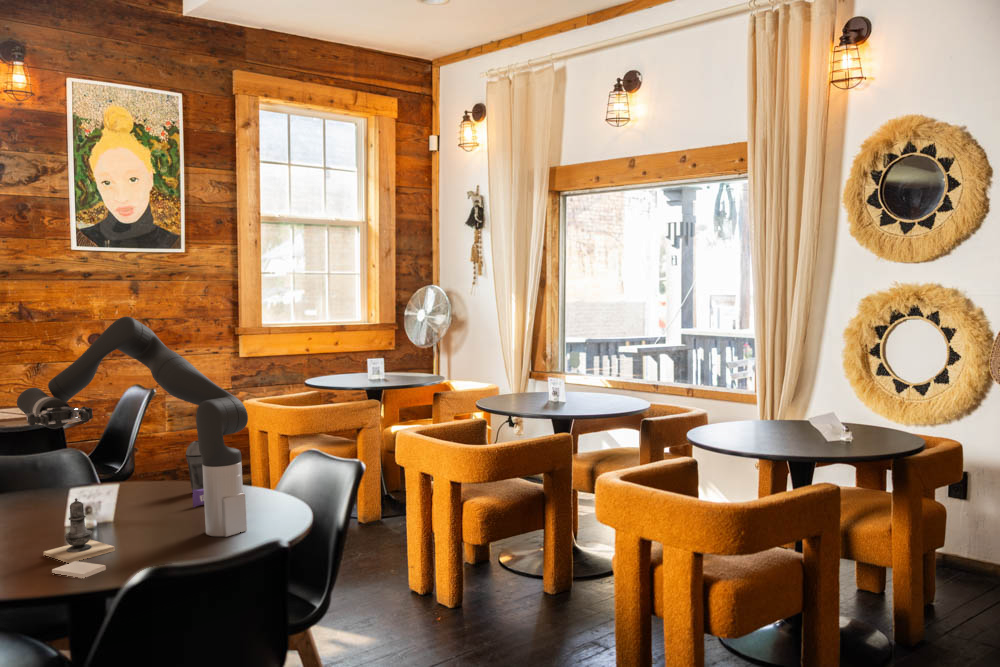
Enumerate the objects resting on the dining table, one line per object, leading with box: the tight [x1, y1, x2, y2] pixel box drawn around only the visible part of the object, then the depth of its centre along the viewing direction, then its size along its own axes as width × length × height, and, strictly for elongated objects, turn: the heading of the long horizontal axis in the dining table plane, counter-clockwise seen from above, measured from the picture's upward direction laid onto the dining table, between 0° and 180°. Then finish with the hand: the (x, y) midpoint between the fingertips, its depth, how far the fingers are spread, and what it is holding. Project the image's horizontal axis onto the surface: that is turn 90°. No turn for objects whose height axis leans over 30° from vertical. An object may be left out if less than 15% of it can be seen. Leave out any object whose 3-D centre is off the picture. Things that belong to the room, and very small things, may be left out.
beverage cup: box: [185, 440, 204, 493], centre depth 257 cm, size 7×7×20 cm
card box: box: [51, 561, 107, 579], centre depth 187 cm, size 9×6×2 cm, turn 67°
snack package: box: [191, 489, 204, 508], centre depth 245 cm, size 12×2×5 cm, turn 139°
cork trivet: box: [43, 539, 116, 564], centre depth 201 cm, size 11×11×1 cm
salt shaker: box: [63, 497, 93, 553], centre depth 200 cm, size 6×6×12 cm
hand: (66, 418), depth 209 cm, fingers open, 8 cm apart
